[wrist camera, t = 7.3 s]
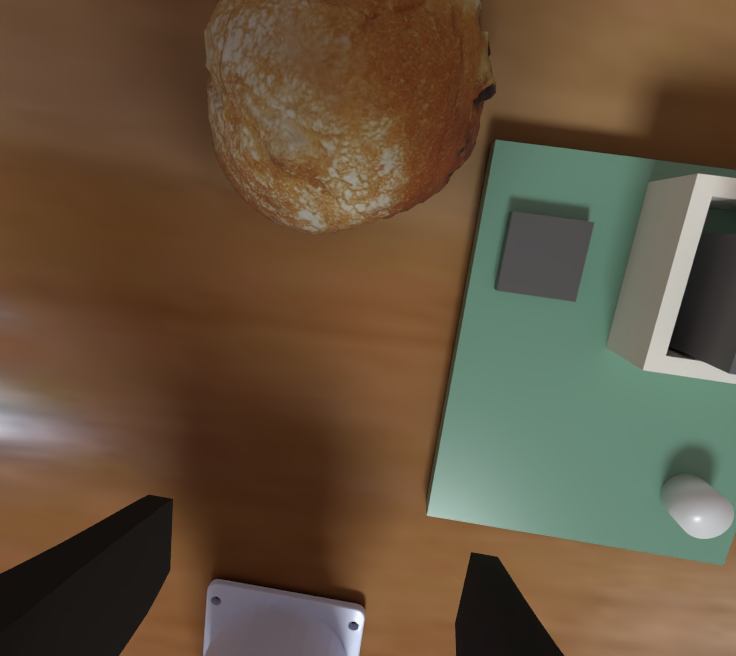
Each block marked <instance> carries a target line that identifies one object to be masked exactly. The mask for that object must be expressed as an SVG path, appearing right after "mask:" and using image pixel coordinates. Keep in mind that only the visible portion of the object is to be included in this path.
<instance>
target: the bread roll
mask: <svg viewBox="0 0 736 656" xmlns="http://www.w3.org/2000/svg"><path fill="white" fill-rule="evenodd" d="M481 9H482V2H481V0H219V2H218V3H217V5H216V7H215V9H214V12H213V14H212V16H211V20H210V21H209V22H208V24H207V28H206V29H205V30H204V37H205V47H206V58H207V61H206V65H205V66H206V68H207V69H208V71H209V72H210V76H209V77H208V80H207V84H206V88H207V97H208V101H207V106H208V119H209V126H210V131H211V135H212V144H213V148H214V151H215V154H216V157H217V160H218V162H219V165H220V167H221V169H222V170H223V172H224V174H225V176H226V177H227V179H228V180H229V182H230V183H231V185H232V186H233V188H234V189H235V191H236V192H237V193H238V194H239V195H240V196H241V197H242V198H243V199H244V200H245V201H246V202H247V203H248V204H249V205H251V206H252V207H253V208H254V209H255V210H256V211H258V212H259V213H260V214H262V215H263V216H265V217H266V218H268V219H270V220H271V221H273V222H275V223H277V224H280V225H282V226H285V227H287V228H290V229H294V230H297V231H300V232H304V233H309V234H318V233H321V232H326V233H336V232H338V231H340V230H341V229H356V228H357V227H359V226H360V225H367V224H370V223H373V222H375V221H376V220H378V219H381V218H382V219H387V218H391V217H392V216H394V215H395V214H397V213H399V212H403V211H408V210H409V209H411V208H412V207H414V206H415V205H417V204H418V203H423V202H424V201H426V200H427V199H428V198H430V197H431V196H433V195H434V194H436V193H438V192H439V191H440V190H441V189H442V188H443V187H444V186H445V185H446V184H447V183H448V181H449V179H450V178H451V176H452V174H453V173H454V171H455V170H457V169H458V168H460V167H461V166H462V164H463V163H464V162H465V161H466V160H467V159H468V158H469V156H470V155H471V152H472V150H473V148H474V146H475V144H476V141H475V140H476V138H477V134H478V131H479V128H480V116H481V112H482V109H483V104H484V101H485V100H487V99H490V98H491V97H492V96H493V95H494V94H495V93H496V82H495V80H494V77H493V75H492V69H491V64H490V60H489V56H490V54H491V53H490V47H489V42H488V31H481V29H480V25H479V21H478V16H479V13H480V11H481Z"/></svg>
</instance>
